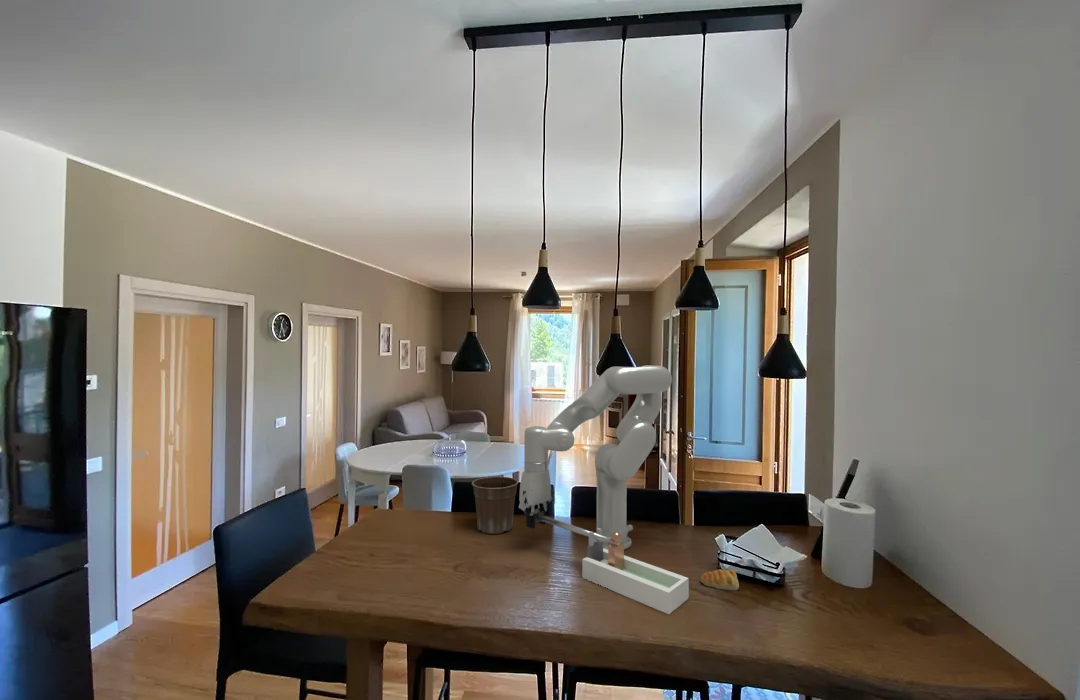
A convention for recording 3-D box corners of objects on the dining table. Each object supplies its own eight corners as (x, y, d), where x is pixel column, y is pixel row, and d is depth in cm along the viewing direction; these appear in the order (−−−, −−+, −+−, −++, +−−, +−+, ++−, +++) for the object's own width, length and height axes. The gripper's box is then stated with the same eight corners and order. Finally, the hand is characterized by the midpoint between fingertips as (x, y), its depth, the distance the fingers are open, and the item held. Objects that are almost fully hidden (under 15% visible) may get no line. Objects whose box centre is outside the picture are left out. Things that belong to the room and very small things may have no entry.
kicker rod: (537, 535, 145) (537, 503, 146) (625, 568, 123) (625, 530, 123) (527, 539, 142) (527, 506, 143) (615, 573, 120) (615, 535, 120)
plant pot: (472, 520, 167) (472, 476, 168) (516, 519, 169) (516, 475, 169) (470, 537, 151) (470, 488, 151) (519, 536, 153) (519, 487, 153)
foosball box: (604, 565, 131) (604, 525, 131) (688, 598, 113) (688, 551, 113) (582, 577, 124) (582, 534, 124) (668, 614, 106) (668, 564, 106)
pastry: (703, 590, 118) (703, 575, 118) (697, 578, 125) (697, 563, 125) (741, 592, 117) (741, 577, 117) (733, 580, 123) (732, 565, 124)
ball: (606, 573, 127) (601, 558, 128) (617, 571, 124) (612, 556, 125) (598, 578, 124) (592, 563, 125) (609, 576, 121) (603, 560, 123)
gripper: (545, 460, 152) (545, 516, 152) (508, 469, 140) (507, 529, 140) (562, 464, 147) (562, 521, 146) (525, 473, 135) (525, 536, 134)
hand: (535, 524), depth 143 cm, fingers closed on kicker rod, 4 cm apart
